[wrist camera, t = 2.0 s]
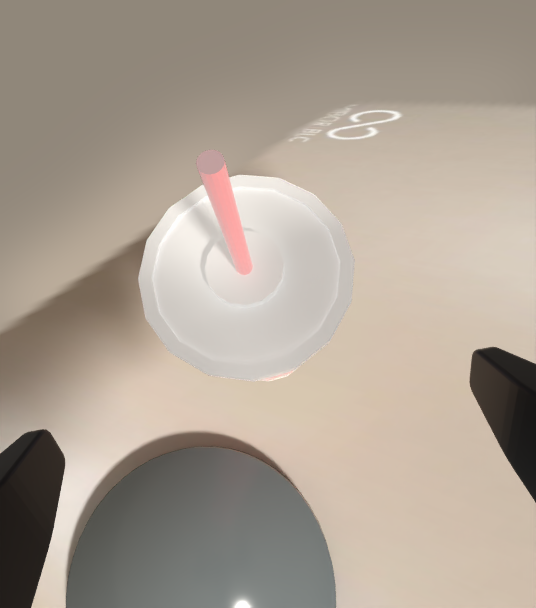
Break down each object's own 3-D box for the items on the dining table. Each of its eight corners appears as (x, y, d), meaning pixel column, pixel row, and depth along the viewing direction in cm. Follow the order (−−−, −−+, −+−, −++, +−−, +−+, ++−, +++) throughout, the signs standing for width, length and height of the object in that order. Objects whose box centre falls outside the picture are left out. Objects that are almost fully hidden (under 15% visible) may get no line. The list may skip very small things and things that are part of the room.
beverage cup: (205, 402, 19) (8, 362, 6) (202, 280, 21) (43, 35, 8) (335, 392, 19) (432, 330, 6) (321, 270, 21) (373, -1, 7)
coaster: (285, 801, 15) (284, 821, 15) (30, 674, 17) (18, 686, 16) (365, 497, 18) (368, 501, 17) (138, 412, 20) (132, 412, 19)
